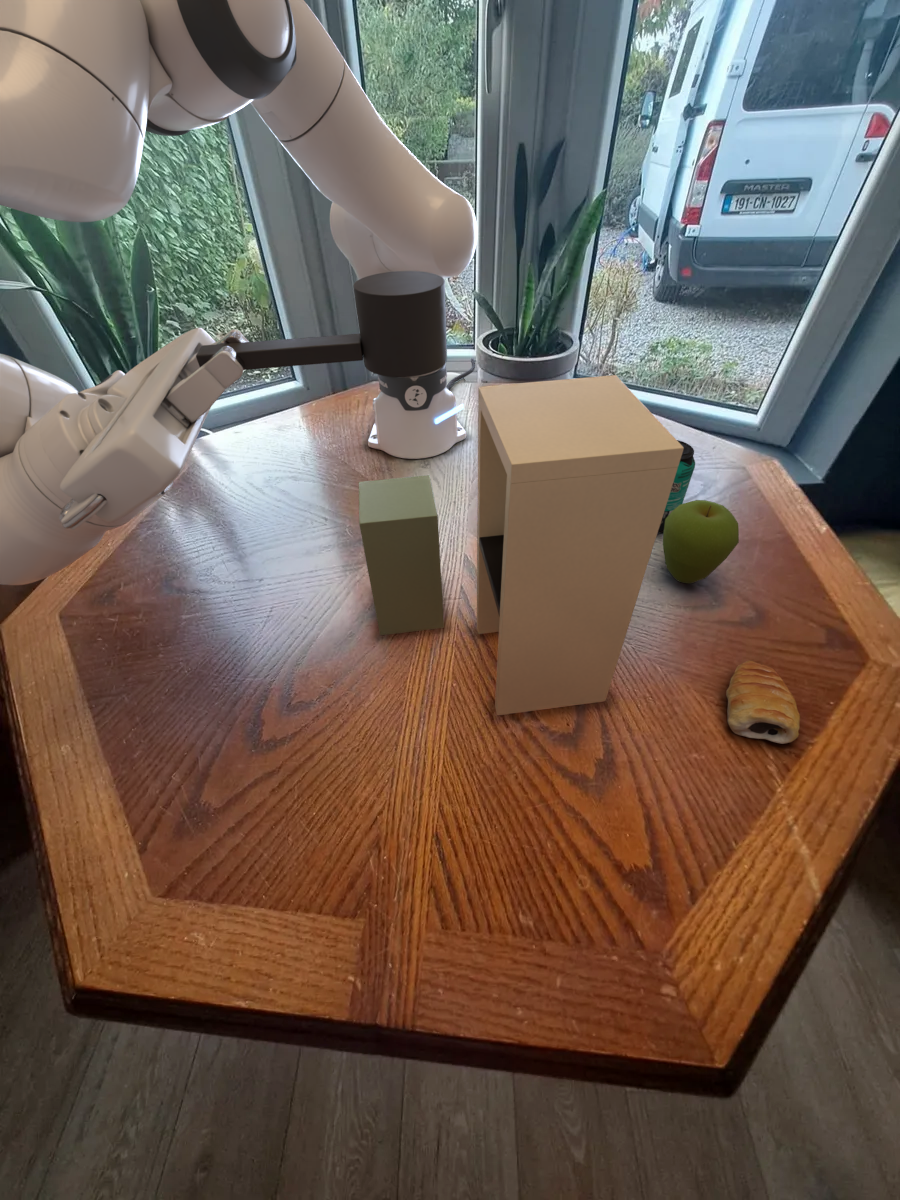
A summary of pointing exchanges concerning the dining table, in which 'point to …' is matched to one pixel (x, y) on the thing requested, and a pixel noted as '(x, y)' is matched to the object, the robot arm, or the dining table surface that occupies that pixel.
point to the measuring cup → (369, 331)
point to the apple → (698, 539)
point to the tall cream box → (565, 531)
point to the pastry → (761, 705)
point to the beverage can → (680, 482)
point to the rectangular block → (402, 553)
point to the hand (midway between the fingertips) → (240, 349)
